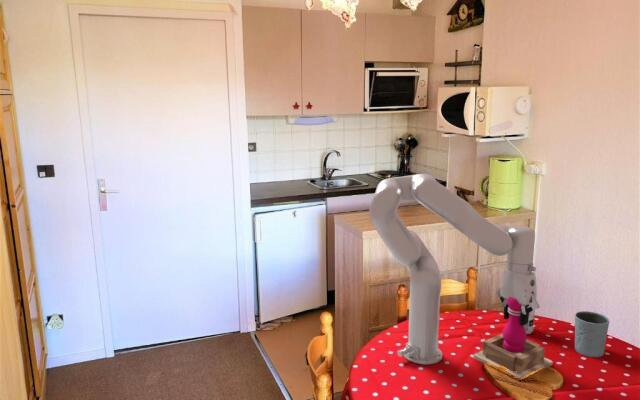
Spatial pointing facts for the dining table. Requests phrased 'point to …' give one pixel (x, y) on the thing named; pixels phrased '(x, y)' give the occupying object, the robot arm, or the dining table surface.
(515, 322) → the pepper mill
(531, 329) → the supplement can
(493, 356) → the stand
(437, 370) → the dining table surface
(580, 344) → the grey cylindrical pot
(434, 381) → the dining table surface
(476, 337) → the dining table surface
